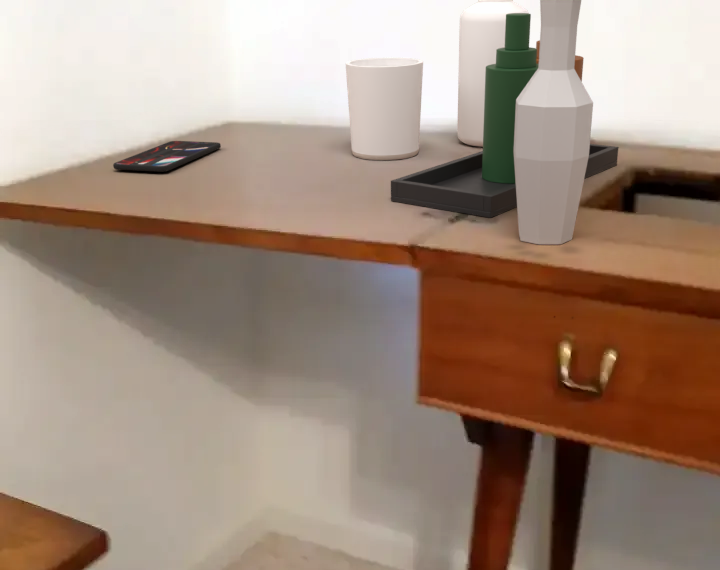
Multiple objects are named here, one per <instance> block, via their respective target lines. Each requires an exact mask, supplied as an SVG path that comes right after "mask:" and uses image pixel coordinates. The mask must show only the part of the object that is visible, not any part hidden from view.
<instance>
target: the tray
mask: <svg viewBox="0 0 720 570" xmlns="http://www.w3.org/2000/svg"><path fill="white" fill-rule="evenodd" d="M619 148H620V147H619V146H614V145H606V144H596V143H595V144H594V143H590V148H589V157H588V162H587V167H586V172H585V177H584V180H585V179H586V178H589V177H592V176H594V175H597V174H599V173H601V172H603V171H606V170H609V169H611V168H613V167H616V166H617V165H618V157H619ZM482 158H483V150H481V151H478V152H475V153H472V154H469V155H465V156H462V157H460V158H456V159H454V160H451V161H447V162H443V163H441V164H437V165H435V166H432V167H429V168H426V169H423V170H419V171H416V172H414V173H410V174H407V175H404V176H401V177H398V178H395V179H392V180H390V201H391V202H394V203H395V202H396V203H401V204H408V205H413V206H419V207H426V208H430V209H437V210H444V211H449V212H453V213H455V212H456V213H460V214H465V215H466V214H467V215H472V216H478V217H482V218H488V219H491V218H493V217H496V216H498V215H501V214H503V213H506V212H508V211H510V210H513V209H515V208H517V196H516V183H515V184H504V183H495V182H490V181H487V180H484V179H483V178H482Z"/></svg>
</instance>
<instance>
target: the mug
mask: <svg viewBox="0 0 720 570" xmlns="http://www.w3.org/2000/svg"><path fill="white" fill-rule="evenodd" d="M423 71H424V61H423V60H422V59H418V58H412V57H370V58H369V57H368V58H360V59H352V60H348V61H346V62H345V75H346V87H347V88H346V90H347V101H348V102H347V104H348V116H349V130H350V143H351V144H350V145H351V153H352V155H353V156H354V157H355V158H357V159H363V160H368V161H369V160H370V161H395V160H396V161H397V160H404V159H410V158H413V157H415V156H417V155H418V153H419V151H420V135H421V117H422V116H421V113H422V95H423V92H422V91H423V74H424V72H423Z"/></svg>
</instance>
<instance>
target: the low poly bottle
mask: <svg viewBox="0 0 720 570" xmlns="http://www.w3.org/2000/svg"><path fill="white" fill-rule="evenodd" d="M539 1H540V2H539V4H540V6H539V8H540V9H539V10H540V32H539V33H540V35H539V40H540V50H539V67H538V69H537V71H536V72H535V73H534V75H533V76H532V78H531V79H530V81H529V82H528V83H527V85H526V86H525V88H524V89H523V90H522V92H521V93H520V95H519V96H518V98H517V99H516V111H515V132H514V165H515V181H516V196H517V207H516V209H517V210H516V211H517V212H516V213H517V225H518V236H519V240H520V242H525V243H530V244H535V245H563V244H565V243H567V242H569V241H572V240H573V236H574V231H575V226H576V221H577V216H578V211H579V207H580V202H581V197H582V191H583V187H584V181H585V179H584V177H585V172H586V167H587V162H588V157H589V148H590V144H591V133H592V125H593V124H592V123H593V122H592V121H593V112H594V111H593V109H594V101H593V99H592V98H591V96H590V94H589V92H588V90H587V88H586V87H585V86H584V84H583V81H582V82H581V80H580V78H579V76H578V75H577V73H576V71H575V69H574V65H575V55H576V51H577V36H578V24H579V19H580V11H581V5H582V0H539Z"/></svg>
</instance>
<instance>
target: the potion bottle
mask: <svg viewBox="0 0 720 570" xmlns="http://www.w3.org/2000/svg"><path fill="white" fill-rule="evenodd" d="M510 13H529V11H528V10H527V9H526V8H525V7H524V6H523V5H521V4H519V3H517V2H515V1H514V0H478V1H477V2H475V3H474V4H472V5H470V6H468V7H467V8H465V9H464V10H463V11H462V13H461V14H460V17H459V29H458V30H459V31H458V32H459V35H458V36H459V37H458V39H459V41H458V76H457V77H458V80H457V81H458V83H457V85H458V86H457V126H456V127H457V128H456V130H457V131H456V134H457V138H458V139H459V141H460V142H461V143H463V144H465V145H468V146H472V147H478V148H479V147H480V148H483V130H484V101H485V72H486V66H488V65H491V64H496V50H497V49H499V48H505V26H506V14H510Z"/></svg>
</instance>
